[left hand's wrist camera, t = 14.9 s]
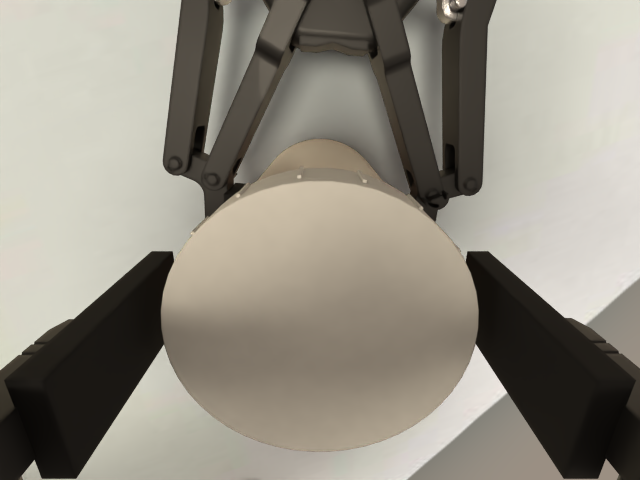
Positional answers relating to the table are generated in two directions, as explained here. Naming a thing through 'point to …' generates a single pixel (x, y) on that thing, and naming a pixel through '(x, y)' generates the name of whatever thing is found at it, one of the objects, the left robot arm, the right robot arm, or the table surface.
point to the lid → (319, 311)
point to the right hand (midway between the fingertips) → (314, 300)
